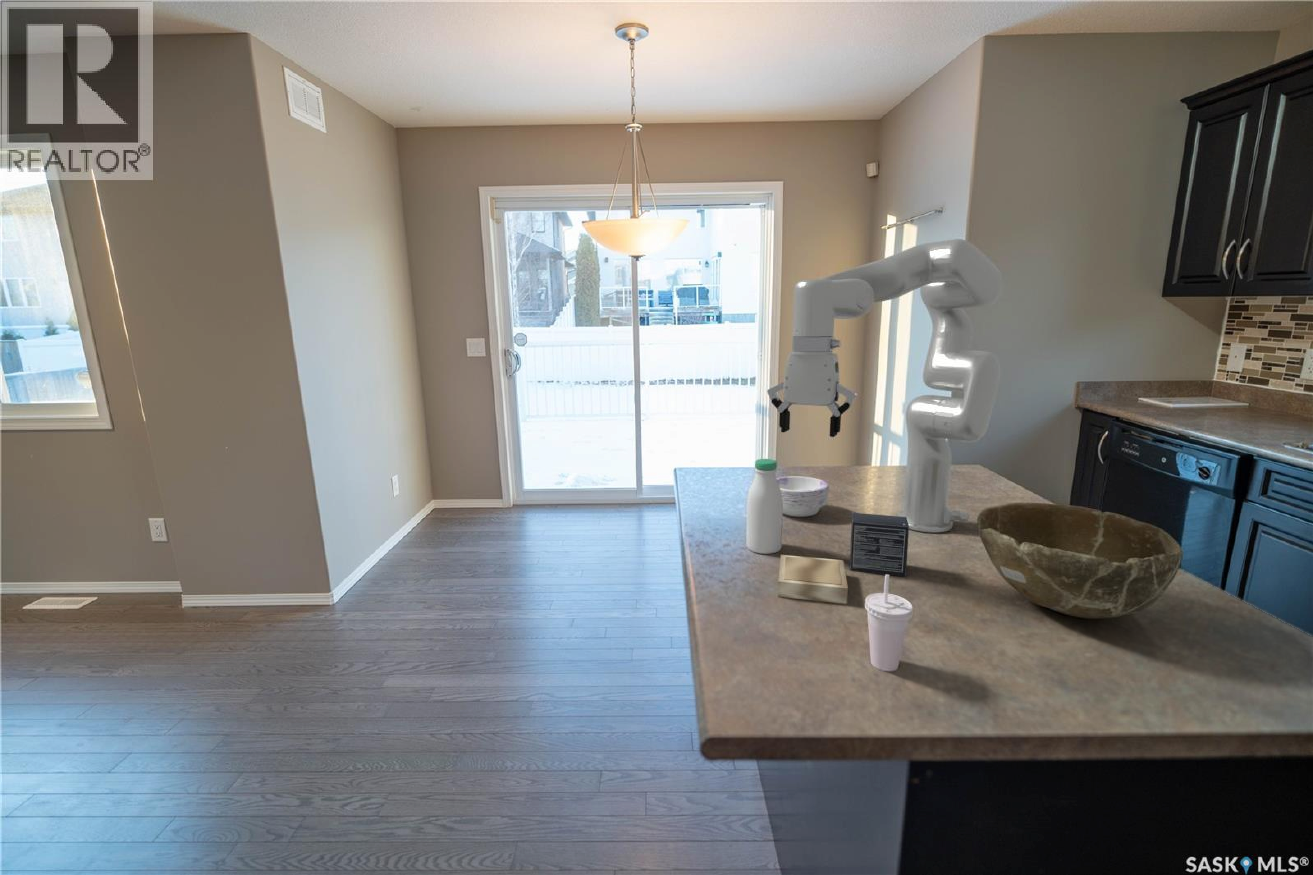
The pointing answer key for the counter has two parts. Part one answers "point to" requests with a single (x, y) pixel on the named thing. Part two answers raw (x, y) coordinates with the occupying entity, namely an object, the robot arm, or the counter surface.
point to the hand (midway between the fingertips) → (808, 433)
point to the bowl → (1079, 557)
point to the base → (812, 579)
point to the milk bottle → (764, 510)
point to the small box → (879, 544)
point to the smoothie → (887, 627)
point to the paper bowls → (802, 495)
